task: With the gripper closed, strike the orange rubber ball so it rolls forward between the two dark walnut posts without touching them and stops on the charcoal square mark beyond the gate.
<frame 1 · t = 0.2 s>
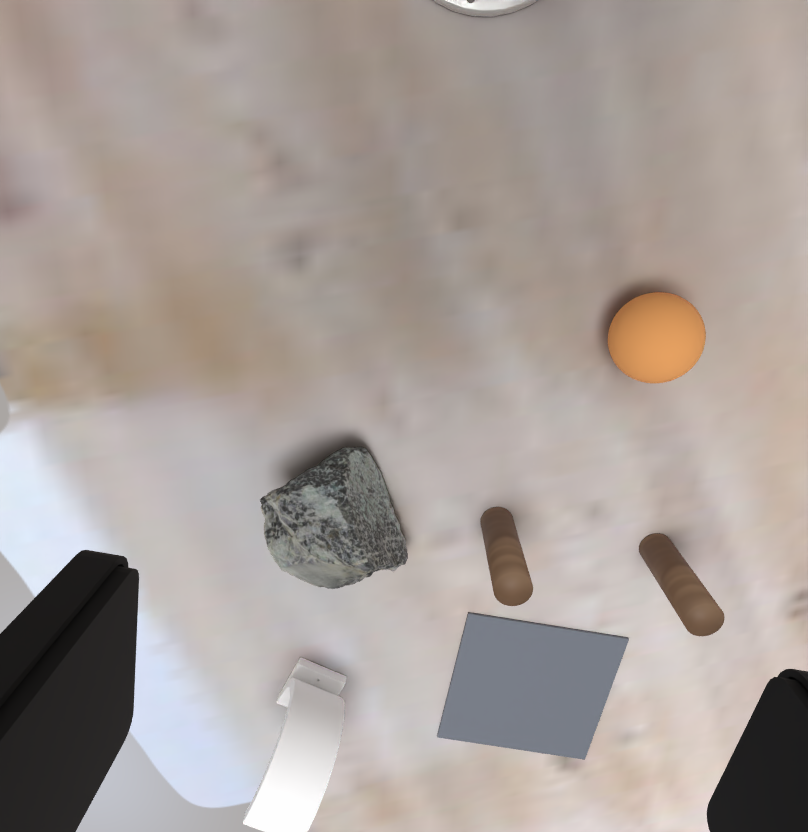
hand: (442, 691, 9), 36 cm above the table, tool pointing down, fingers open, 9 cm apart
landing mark: (529, 688, 54), on the table
stone: (343, 494, 49), on the table
headphone stand: (314, 680, 55), on the table
ball: (655, 338, 40), on the table
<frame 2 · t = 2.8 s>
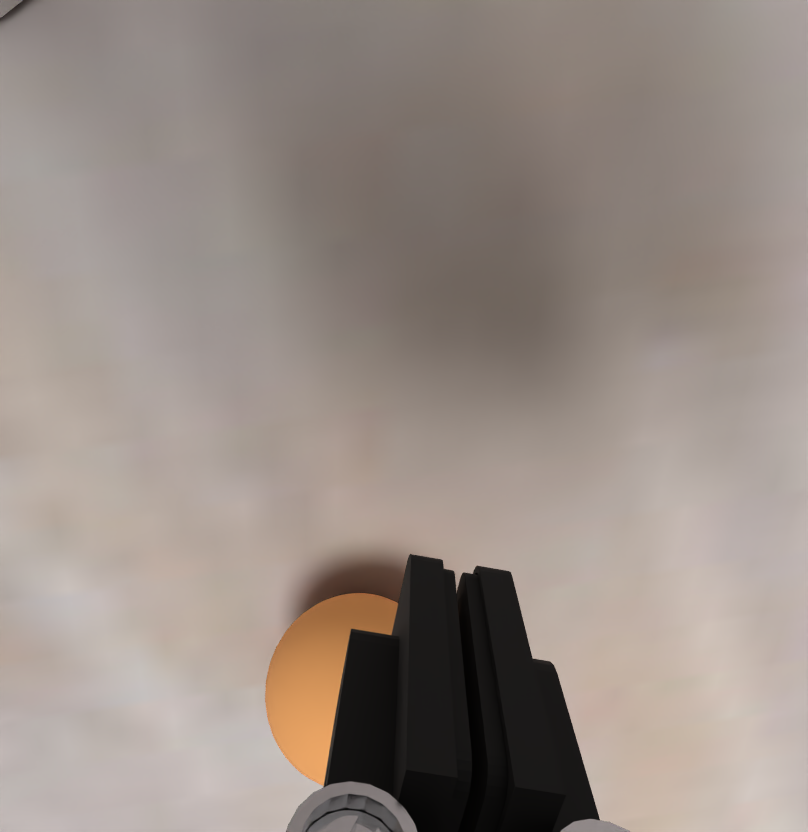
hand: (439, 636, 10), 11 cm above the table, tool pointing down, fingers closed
ball: (356, 686, 20), on the table
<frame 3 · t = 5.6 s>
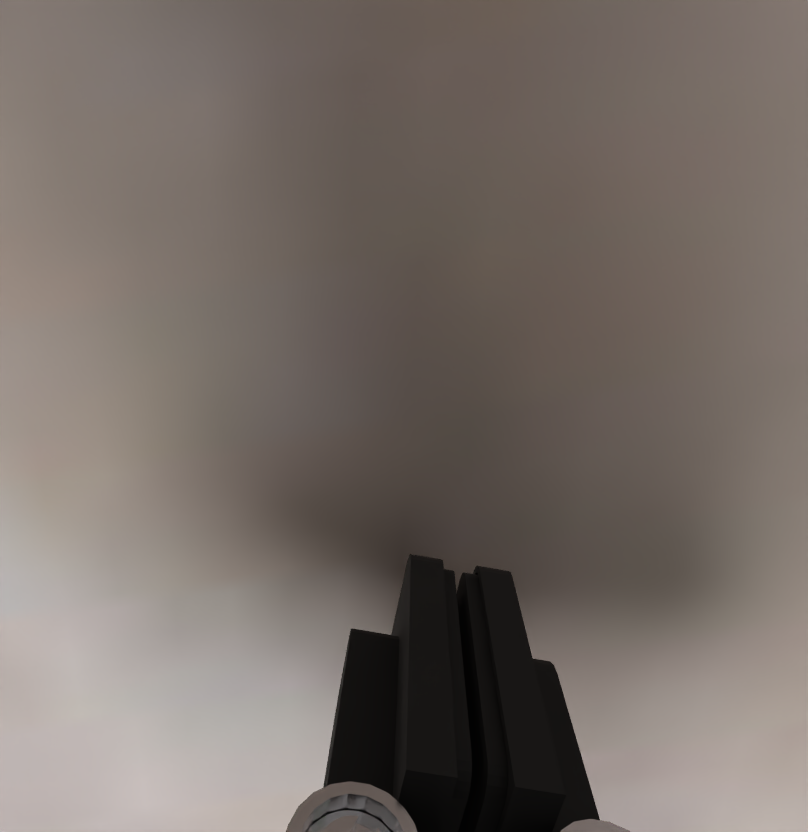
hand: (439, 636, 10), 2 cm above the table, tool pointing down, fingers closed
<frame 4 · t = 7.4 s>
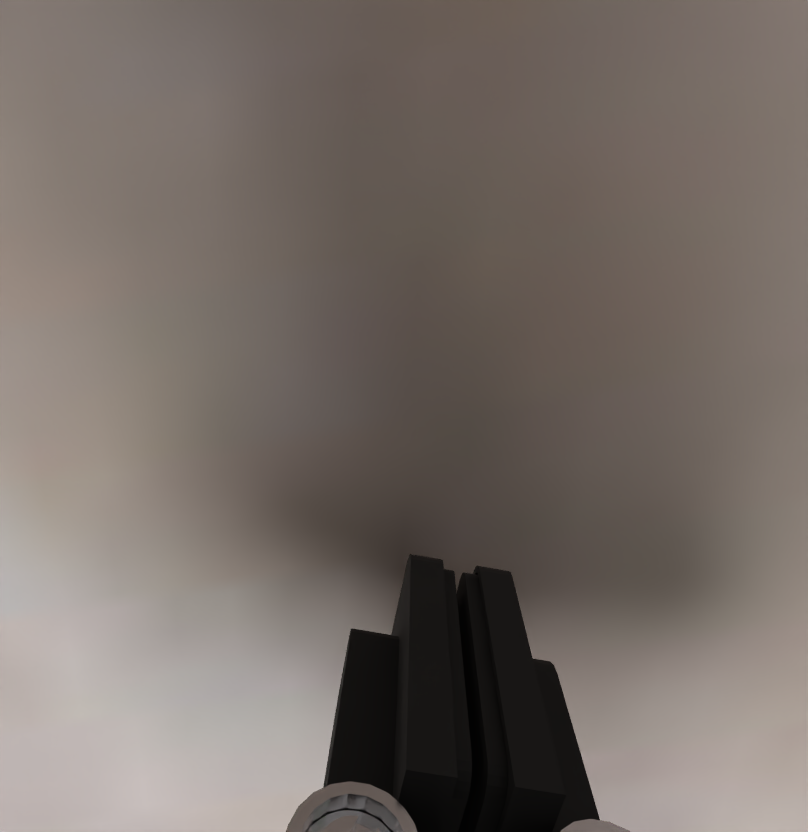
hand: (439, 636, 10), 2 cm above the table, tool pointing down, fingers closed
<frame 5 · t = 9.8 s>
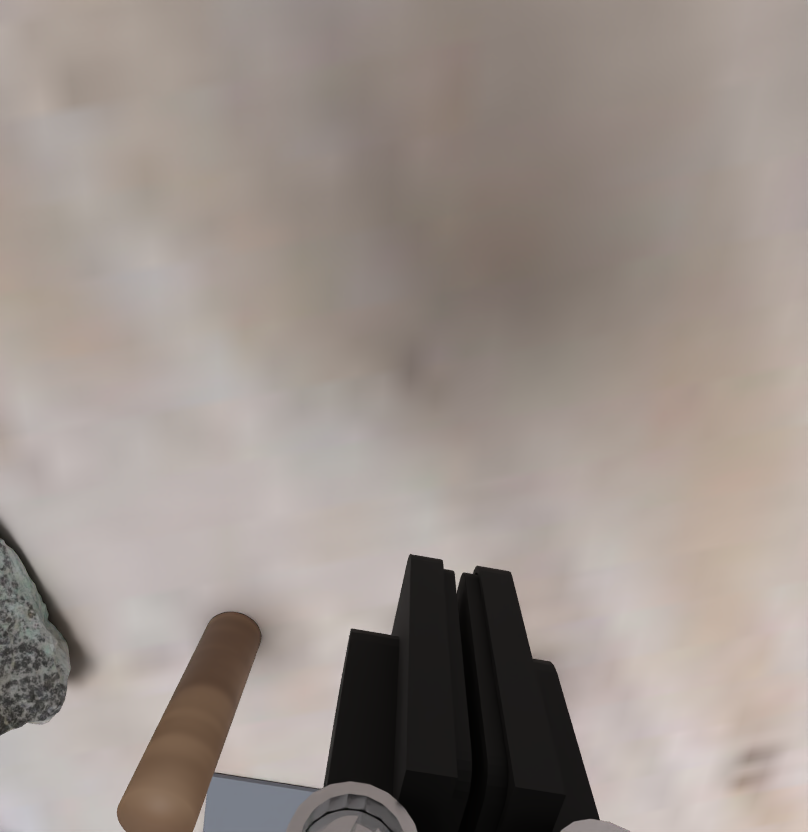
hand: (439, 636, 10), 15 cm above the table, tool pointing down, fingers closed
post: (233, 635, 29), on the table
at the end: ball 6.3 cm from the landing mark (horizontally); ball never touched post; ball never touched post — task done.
